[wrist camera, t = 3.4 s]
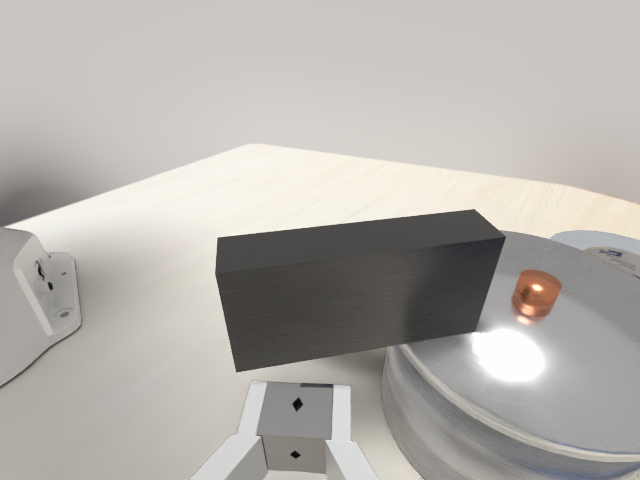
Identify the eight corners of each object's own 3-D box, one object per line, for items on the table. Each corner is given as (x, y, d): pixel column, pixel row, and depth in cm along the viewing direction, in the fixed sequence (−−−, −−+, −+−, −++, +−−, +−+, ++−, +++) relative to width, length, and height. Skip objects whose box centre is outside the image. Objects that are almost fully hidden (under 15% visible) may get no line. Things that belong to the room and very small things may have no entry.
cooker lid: (548, 230, 34) (582, 145, 30) (808, 419, 19) (961, 303, 14) (237, 269, 30) (221, 176, 25) (242, 562, 14) (203, 457, 10)
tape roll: (646, 385, 32) (677, 346, 30) (500, 287, 44) (512, 252, 41) (719, 321, 39) (750, 284, 36) (575, 250, 50) (589, 217, 47)
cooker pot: (644, 362, 34) (706, 279, 29) (771, 622, 20) (942, 558, 14) (329, 292, 42) (329, 218, 37) (259, 440, 28) (243, 356, 23)
